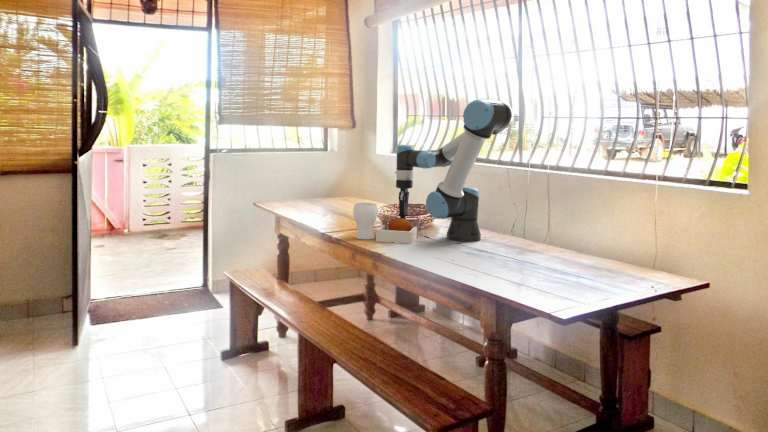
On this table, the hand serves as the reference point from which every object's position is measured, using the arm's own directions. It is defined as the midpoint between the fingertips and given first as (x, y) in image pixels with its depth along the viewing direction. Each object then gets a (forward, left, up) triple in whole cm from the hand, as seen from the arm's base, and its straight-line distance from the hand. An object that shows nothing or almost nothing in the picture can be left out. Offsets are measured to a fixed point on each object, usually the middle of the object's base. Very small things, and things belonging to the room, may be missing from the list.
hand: (402, 230), depth 288 cm
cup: (+14, +16, -2) cm, 22 cm away
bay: (0, +14, -2) cm, 14 cm away
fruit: (0, +7, -2) cm, 7 cm away
